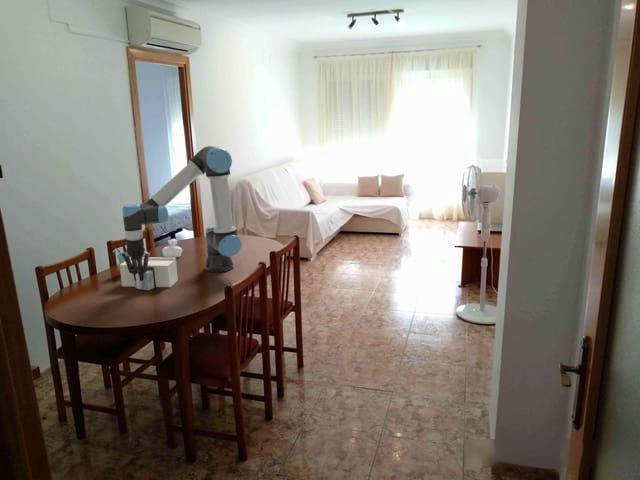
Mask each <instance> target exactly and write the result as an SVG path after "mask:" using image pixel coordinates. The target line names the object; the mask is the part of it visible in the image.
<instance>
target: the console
mask: <svg viewBox="0 0 640 480" xmlns="http://www.w3.org/2000/svg"><path fill="white" fill-rule="evenodd" d="M130 260H131V257H130ZM143 262H144V257H143V256H142V265H143ZM131 263H132V261H131ZM137 268H138V265H137ZM177 268H178V266H177V257H175V258H173V257H169V258H168V257H161V256H160V257H157V256H156V257H152V256H151V257H150V256H149V259H148V266H147V270H151V271H153V279H154V285H155V287H156V288H171V287H172V286H174V284H176V282H179V281H178V279H179V278H178V269H177ZM119 271H120V279H121V286H122V287H135V280H134V274H132V273H129V270H128V267H127V264H126V262H124V263H122V264H119Z"/></svg>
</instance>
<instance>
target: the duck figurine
mask: <svg viewBox="0 0 640 480" xmlns="http://www.w3.org/2000/svg"><path fill="white" fill-rule="evenodd" d="M167 243H168V244H169V246H165V247H163V248H162V249H161V250H162V255H163V257H164V258H180V257H181V255H182V252H183V248H182V247H180V246H178V240H177V239H176V238H171V239H168V240H167Z"/></svg>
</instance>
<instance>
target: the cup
mask: <svg viewBox="0 0 640 480" xmlns="http://www.w3.org/2000/svg"><path fill="white" fill-rule="evenodd" d="M126 250H127V248H126ZM126 250H125V251H126ZM111 252H112V253H115V252H118V254H117V255H116V256H117V258H118V259H117V260H118V263H119V265H120V264H122V263H124V262H125V259H124V257H123V256H122V254H123V253H124V252H121V250H120V249H119V248H115V249H114V250H112V251H111ZM129 257H130V256H129Z"/></svg>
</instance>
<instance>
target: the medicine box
mask: <svg viewBox="0 0 640 480" xmlns="http://www.w3.org/2000/svg"><path fill="white" fill-rule="evenodd" d="M142 285H143V286H142V287H141V288H137V283H136V281H135V290H145V291H151V290H152V289H155V284H154V279H153V271H151V270H147V272H145V273H143V281H142Z"/></svg>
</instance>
